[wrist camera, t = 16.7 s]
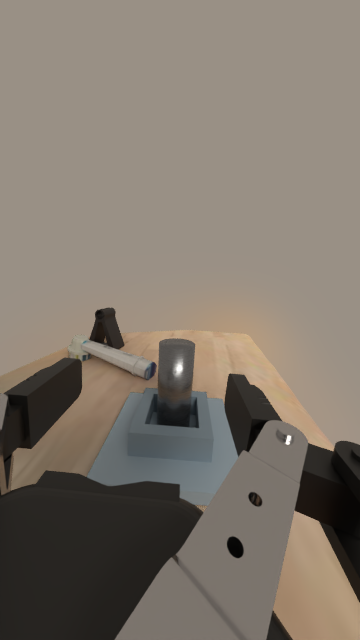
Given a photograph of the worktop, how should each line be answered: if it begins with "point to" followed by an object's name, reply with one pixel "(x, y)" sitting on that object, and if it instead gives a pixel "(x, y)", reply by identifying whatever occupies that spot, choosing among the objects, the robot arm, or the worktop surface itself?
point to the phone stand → (106, 329)
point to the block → (168, 448)
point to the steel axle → (175, 382)
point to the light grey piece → (111, 356)
